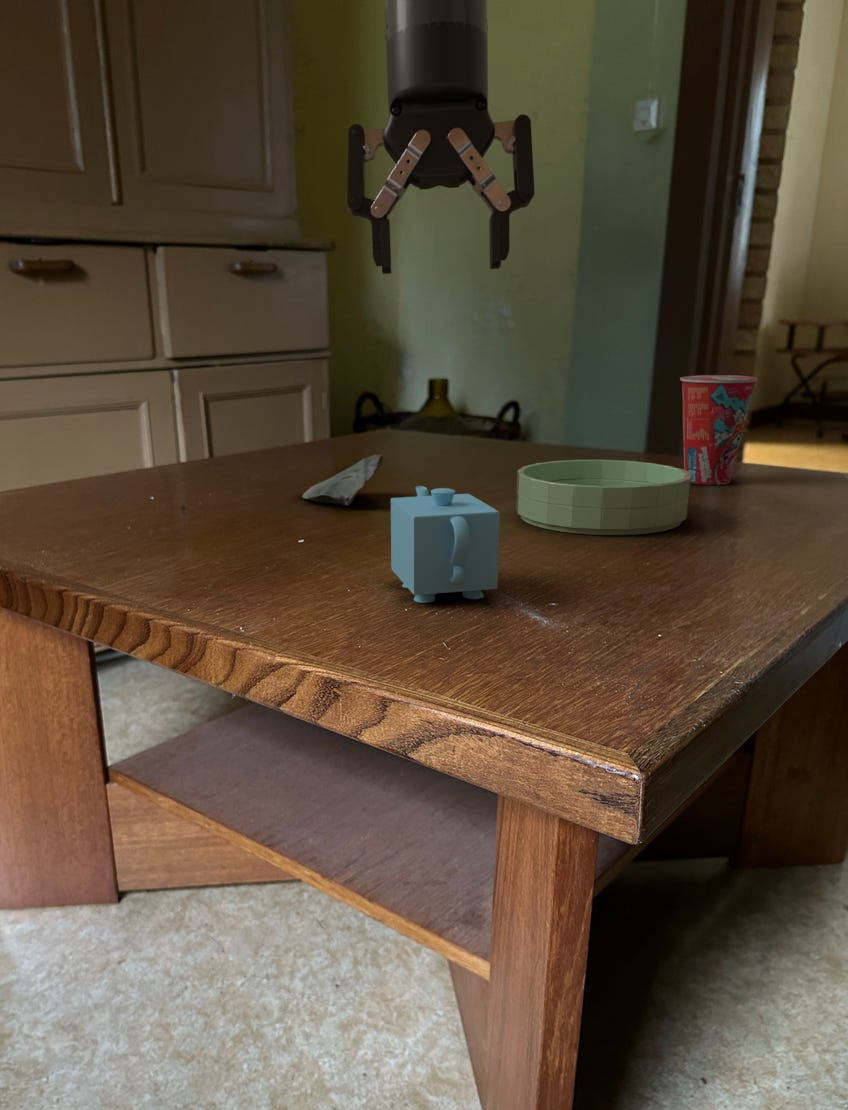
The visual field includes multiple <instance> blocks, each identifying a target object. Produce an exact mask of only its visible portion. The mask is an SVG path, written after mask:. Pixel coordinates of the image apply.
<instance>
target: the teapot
mask: <svg viewBox="0 0 848 1110" xmlns="http://www.w3.org/2000/svg"><path fill="white" fill-rule="evenodd" d="M415 491H416V496H403V497H402V496H401V497H391V498H390V562H391V563H390V567H391V568H390V569H391V571H392V572H393V573H394V574H395V575H396V577H398V579H399V580H400V581H401V582H402V583H403V584H402V585H401V588H403V589H408V590H409V592H411V593H412V594H413V596H414V598H413V601H414V602H416V603H420V604H421V603H423V604H426V603H427V604H428V603H433V602H435V600H436V594H445V593H459V592H461V594H462V597H463V598H465V599H469V600H478V599H482V598H484V597H485V595H484V593H483V592H482V591H486V590H497V589H498V580H499V552H500V551H499V547H500V518H501V517H500V516H501V515H500V514H501V513H500V511H498V510H497V509H495V508H494V507H492V506H490V505H488V504H487V503H485V502H483V501H482V500H480V499H479V498H477V497H475V496H474V495H471V494H470V493H458V494H456V490H455V489H452V488H447V487H445V488H444V487H439V488H434V489H432V490H430V492H429V489H428V488H427V487H426V486H423V485H417V486H415ZM430 493H431V495H430Z"/></svg>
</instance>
